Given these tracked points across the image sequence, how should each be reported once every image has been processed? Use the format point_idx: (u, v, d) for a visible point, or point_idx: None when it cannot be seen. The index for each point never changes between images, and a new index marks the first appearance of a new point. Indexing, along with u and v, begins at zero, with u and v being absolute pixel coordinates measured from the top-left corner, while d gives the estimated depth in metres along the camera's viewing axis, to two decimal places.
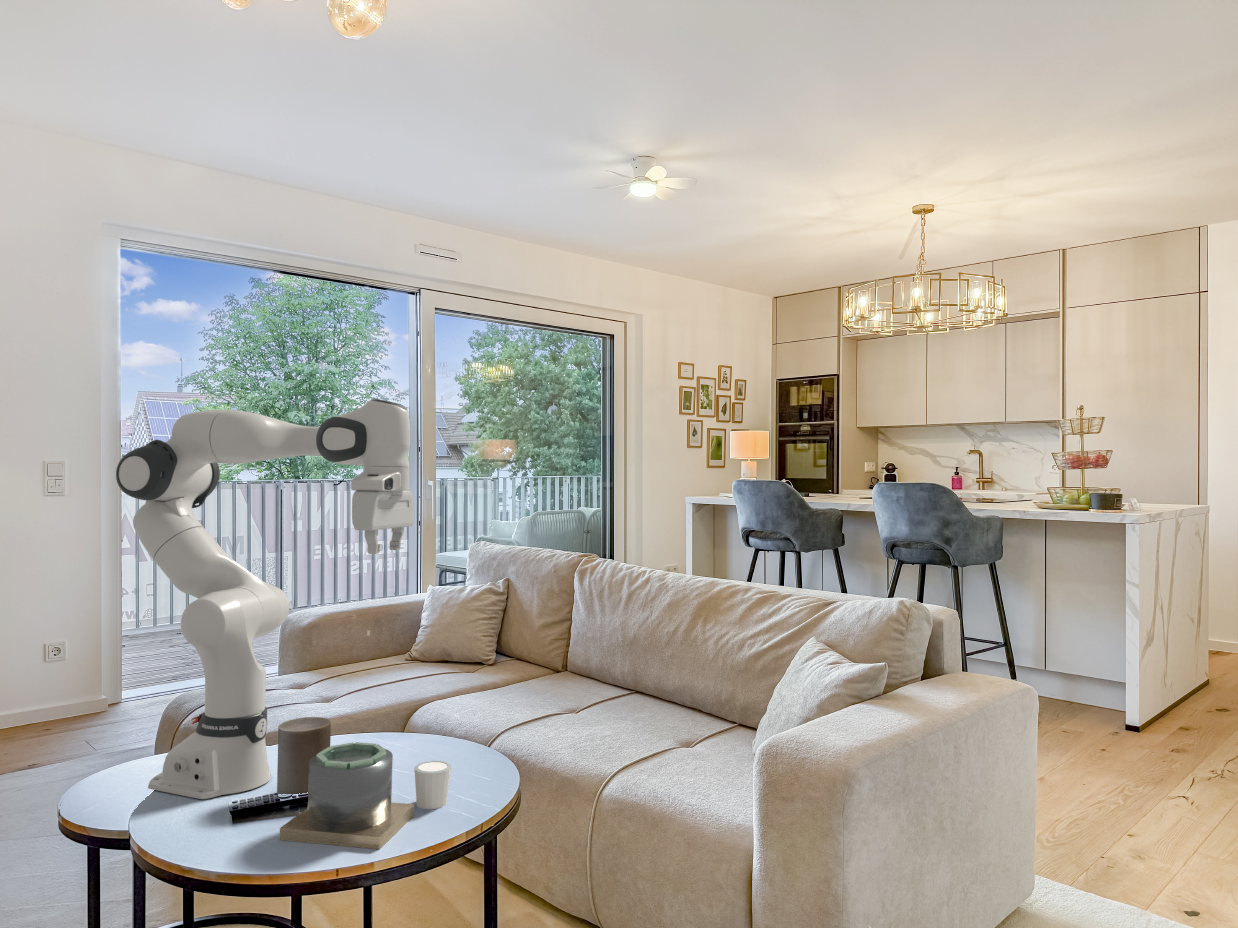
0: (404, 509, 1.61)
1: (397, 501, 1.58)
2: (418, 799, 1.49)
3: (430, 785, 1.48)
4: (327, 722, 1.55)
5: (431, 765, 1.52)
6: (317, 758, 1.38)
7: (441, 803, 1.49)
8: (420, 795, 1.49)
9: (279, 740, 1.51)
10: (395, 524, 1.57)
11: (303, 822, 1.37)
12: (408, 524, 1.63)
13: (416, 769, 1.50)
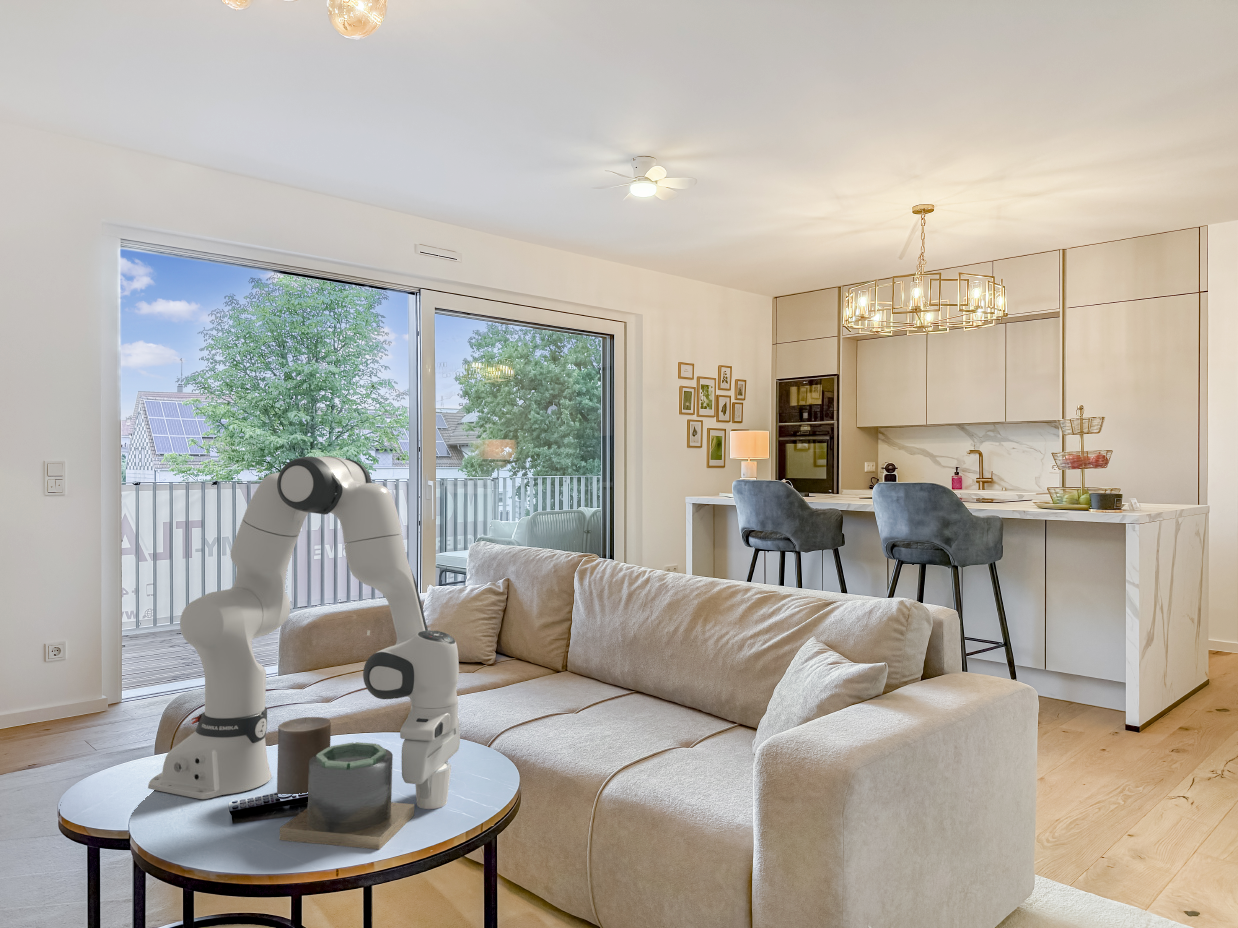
0: (451, 739, 1.56)
1: None
2: (418, 799, 1.49)
3: (430, 785, 1.48)
4: (327, 722, 1.55)
5: None
6: (317, 758, 1.38)
7: (441, 803, 1.49)
8: None
9: (279, 740, 1.51)
10: (443, 761, 1.52)
11: (303, 822, 1.37)
12: (454, 752, 1.58)
13: None
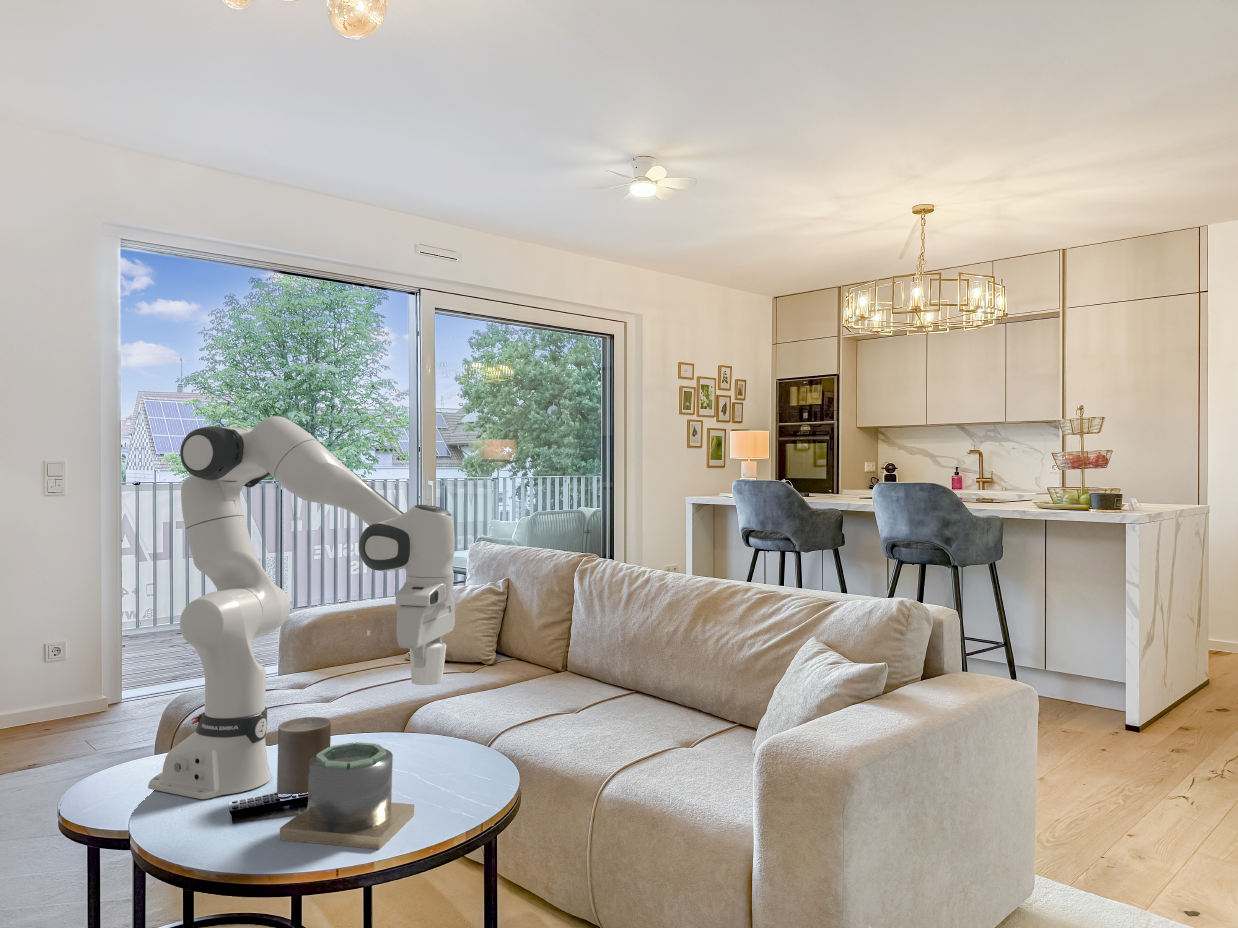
0: (446, 616, 1.56)
1: (440, 609, 1.53)
2: (413, 676, 1.49)
3: (425, 661, 1.48)
4: (327, 722, 1.55)
5: (426, 644, 1.52)
6: (317, 758, 1.38)
7: (436, 680, 1.49)
8: (415, 671, 1.48)
9: (279, 740, 1.51)
10: (438, 634, 1.51)
11: (303, 822, 1.37)
12: (449, 630, 1.58)
13: None
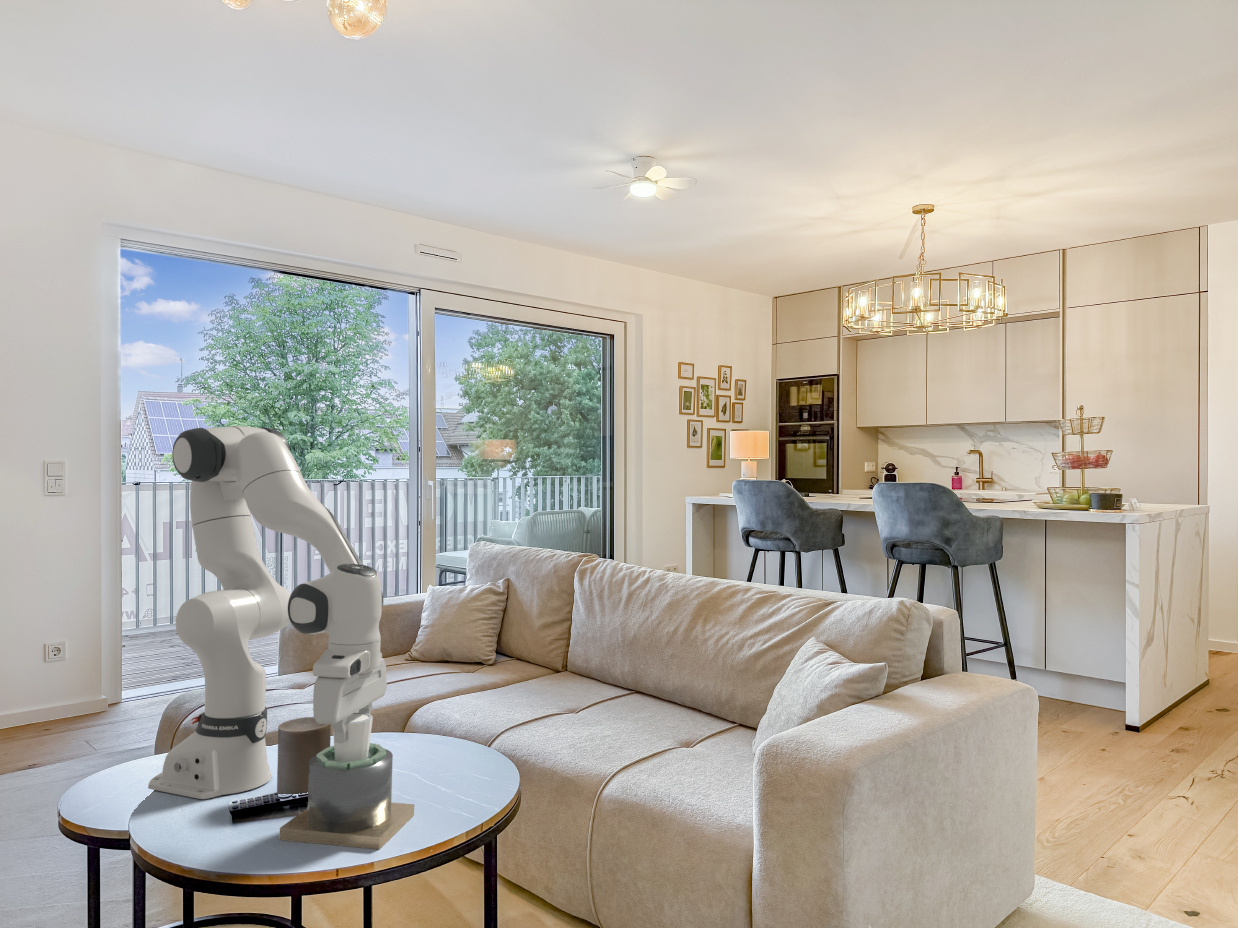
0: (375, 682, 1.45)
1: None
2: (335, 752, 1.38)
3: None
4: None
5: (351, 716, 1.41)
6: (317, 758, 1.38)
7: (360, 757, 1.38)
8: (337, 748, 1.38)
9: (279, 740, 1.51)
10: (364, 704, 1.41)
11: (303, 822, 1.37)
12: (379, 696, 1.47)
13: None
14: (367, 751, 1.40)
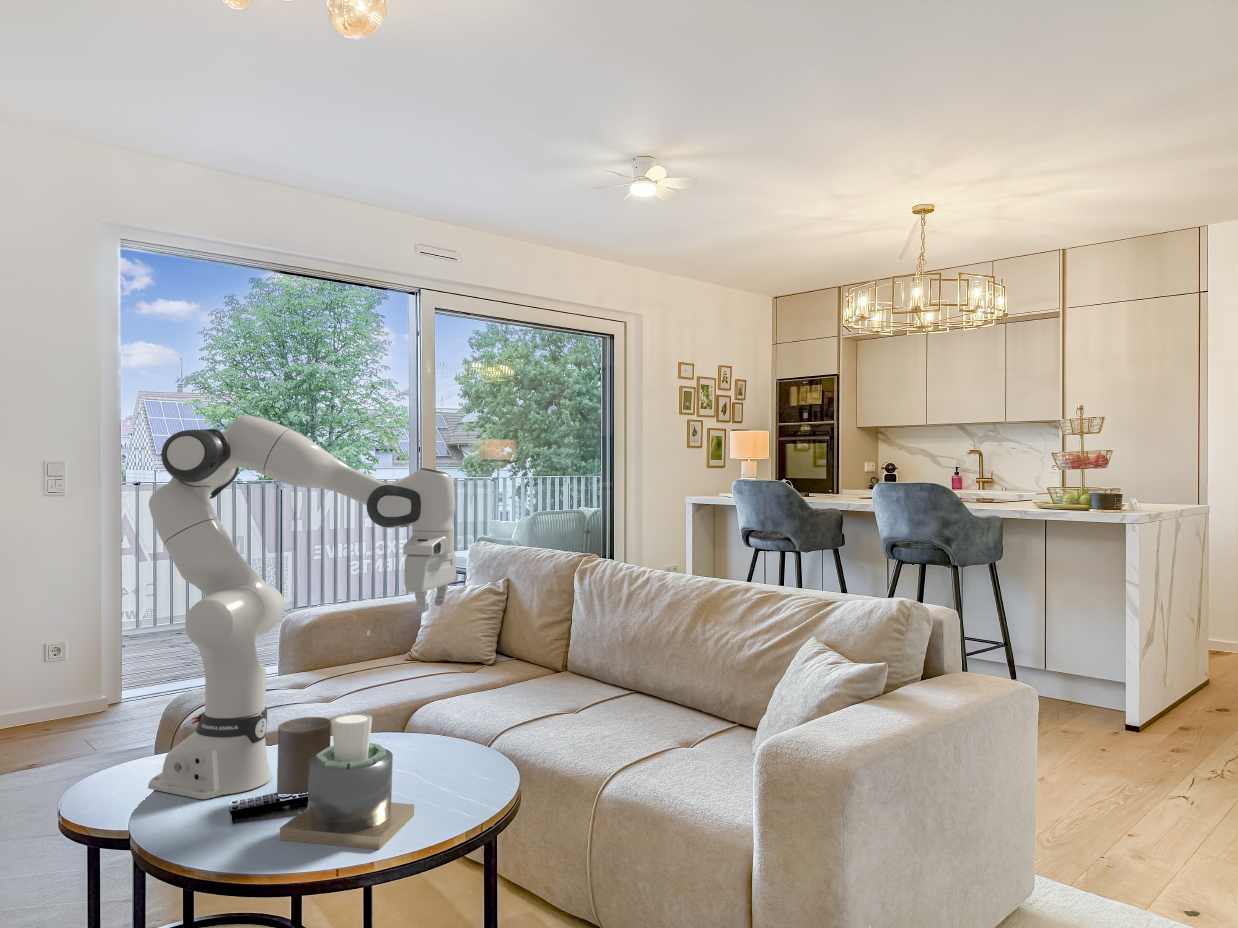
0: (448, 568, 1.75)
1: (442, 561, 1.72)
2: (335, 753, 1.38)
3: (347, 738, 1.37)
4: (327, 722, 1.55)
5: (351, 718, 1.41)
6: (317, 758, 1.38)
7: (360, 758, 1.38)
8: (336, 749, 1.38)
9: (279, 740, 1.51)
10: (441, 583, 1.71)
11: (303, 822, 1.37)
12: (451, 581, 1.77)
13: (333, 721, 1.39)
14: (367, 752, 1.40)
